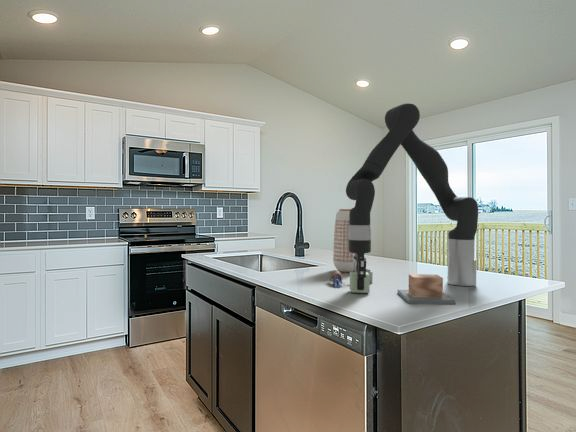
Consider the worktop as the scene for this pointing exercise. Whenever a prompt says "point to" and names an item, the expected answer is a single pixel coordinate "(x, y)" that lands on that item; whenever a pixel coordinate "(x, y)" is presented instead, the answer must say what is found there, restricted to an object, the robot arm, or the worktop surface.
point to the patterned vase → (342, 243)
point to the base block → (425, 285)
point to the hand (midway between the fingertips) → (359, 287)
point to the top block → (354, 283)
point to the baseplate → (426, 298)
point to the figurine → (336, 278)
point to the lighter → (370, 275)
